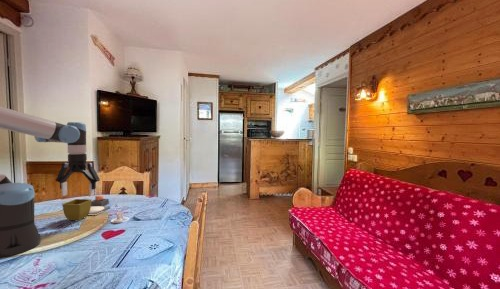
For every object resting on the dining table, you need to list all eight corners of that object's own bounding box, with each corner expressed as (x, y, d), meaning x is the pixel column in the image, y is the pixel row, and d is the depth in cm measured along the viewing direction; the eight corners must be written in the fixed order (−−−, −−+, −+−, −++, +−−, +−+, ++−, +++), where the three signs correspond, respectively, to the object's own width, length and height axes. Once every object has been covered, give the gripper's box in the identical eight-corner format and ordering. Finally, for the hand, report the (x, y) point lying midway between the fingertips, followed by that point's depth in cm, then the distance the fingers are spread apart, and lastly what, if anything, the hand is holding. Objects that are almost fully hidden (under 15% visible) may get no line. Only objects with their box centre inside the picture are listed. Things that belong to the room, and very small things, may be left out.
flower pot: (79, 222, 112) (79, 204, 112) (61, 222, 112) (61, 203, 112) (92, 216, 121) (92, 199, 121) (75, 216, 121) (75, 198, 121)
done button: (100, 202, 138) (100, 197, 138) (93, 202, 138) (93, 197, 138) (104, 200, 142) (104, 195, 142) (98, 200, 142) (98, 195, 142)
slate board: (95, 215, 122) (95, 213, 122) (70, 215, 122) (70, 213, 122) (110, 208, 135) (110, 206, 135) (87, 207, 135) (87, 205, 135)
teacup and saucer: (119, 225, 111) (119, 216, 111) (105, 223, 113) (105, 215, 113) (132, 218, 120) (132, 211, 120) (119, 217, 121) (119, 209, 121)
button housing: (101, 207, 137) (101, 202, 137) (89, 206, 137) (89, 201, 136) (108, 203, 144) (108, 198, 144) (97, 203, 144) (97, 198, 143)
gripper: (107, 153, 119) (107, 193, 120) (58, 152, 119) (59, 193, 120) (97, 154, 112) (98, 197, 113) (45, 153, 112) (46, 197, 113)
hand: (78, 195), depth 117 cm, fingers open, 13 cm apart
